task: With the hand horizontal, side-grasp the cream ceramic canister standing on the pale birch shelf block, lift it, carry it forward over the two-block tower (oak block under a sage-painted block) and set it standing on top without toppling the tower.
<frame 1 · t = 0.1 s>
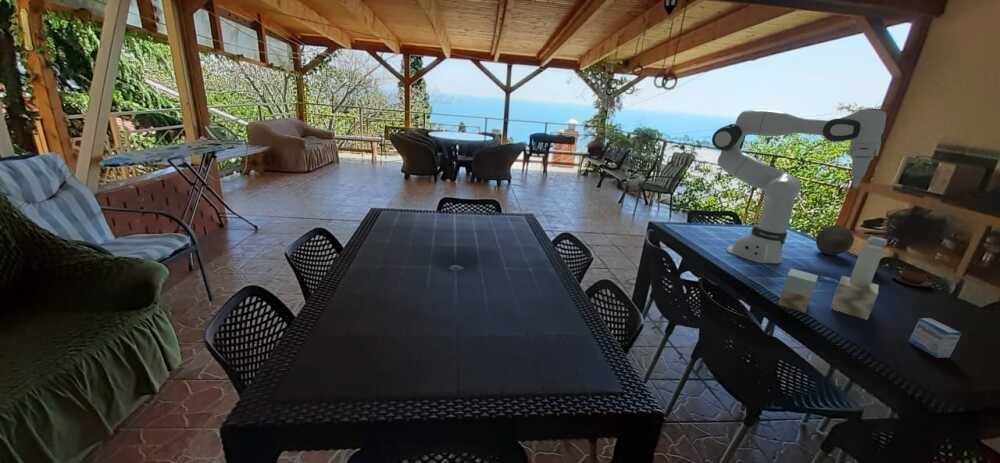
hand: (856, 185, 156), 39 cm above the table, tool pointing down, fingers open, 8 cm apart
beer can: (866, 269, 176), on the table
tower block lower: (793, 305, 140), on the table, touching tower block upper
shelf block: (849, 309, 139), on the table
cup and saucer: (909, 283, 164), on the table
canister: (859, 284, 135), point 10 cm above the table, touching shelf block
cantaloupe: (829, 255, 192), on the table
tower block upper: (797, 290, 138), point 6 cm above the table, touching tower block lower
medicine box: (927, 350, 117), on the table
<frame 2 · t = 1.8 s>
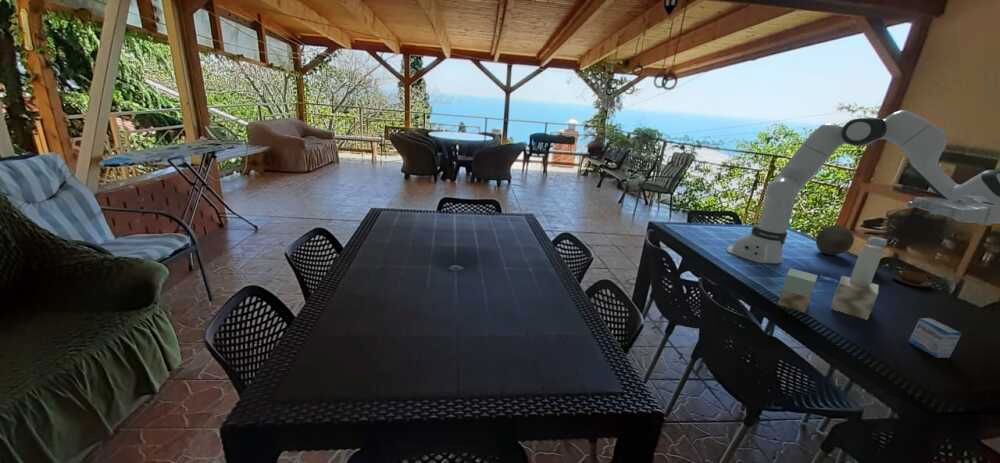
hand: (919, 207, 131), 37 cm above the table, tool horizontal, fingers open, 8 cm apart
nothing on the table moved.
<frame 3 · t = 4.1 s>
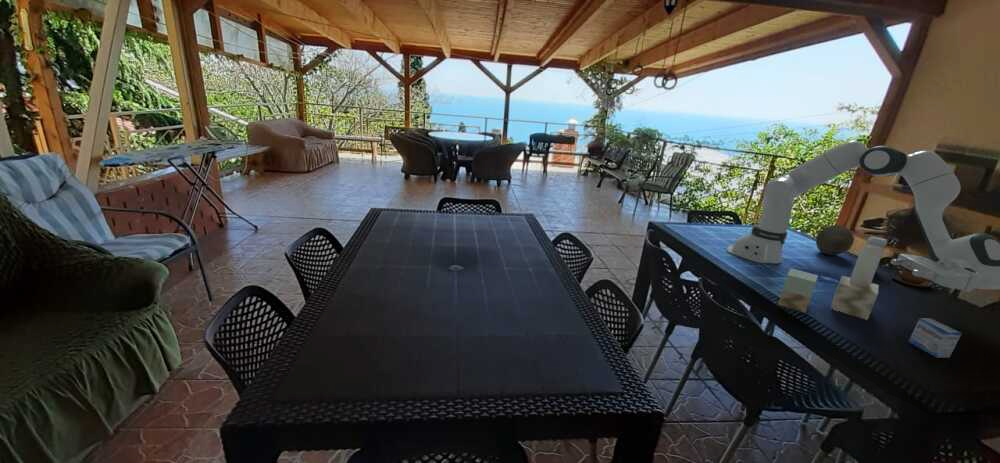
hand: (902, 267, 131), 18 cm above the table, tool horizontal, fingers open, 8 cm apart
nothing on the table moved.
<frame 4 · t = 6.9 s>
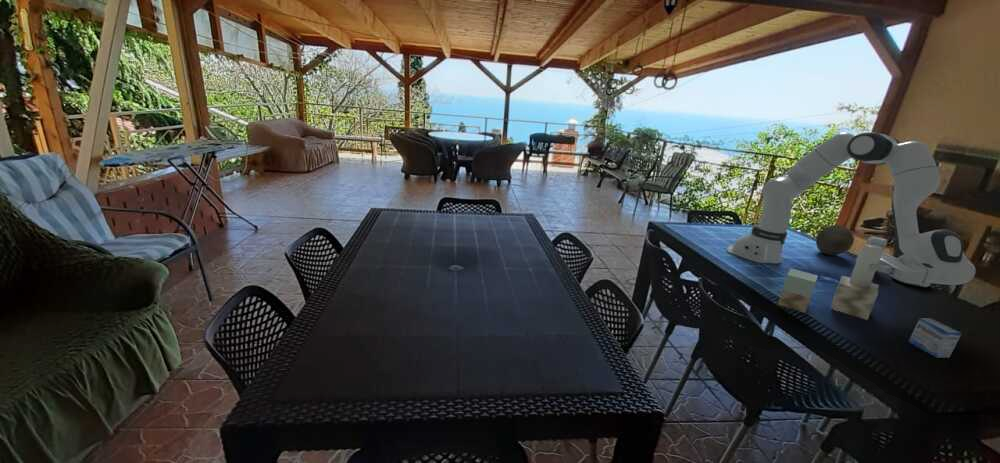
hand: (864, 262, 133), 18 cm above the table, tool horizontal, fingers closed on canister, 5 cm apart
canister: (859, 284, 135), point 10 cm above the table, touching gripper, shelf block
everything else where it was.
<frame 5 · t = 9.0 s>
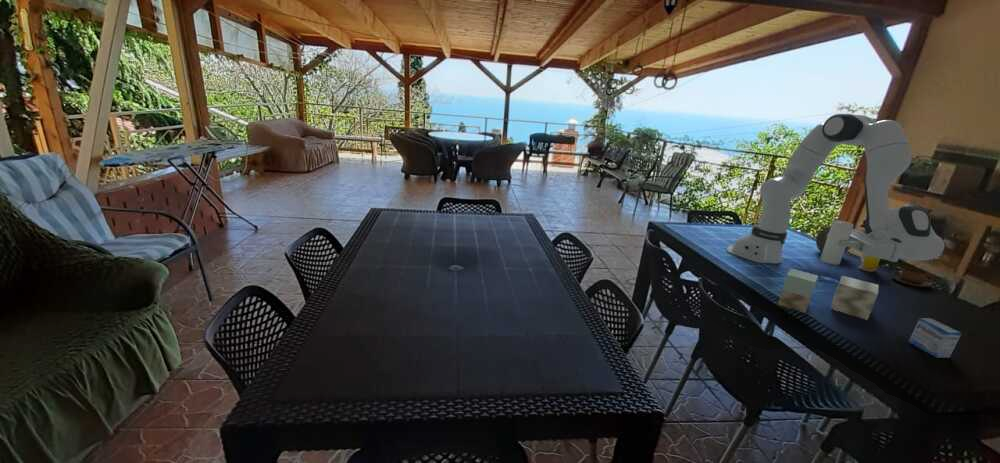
hand: (834, 239, 131), 26 cm above the table, tool horizontal, fingers closed on canister, 5 cm apart
canister: (829, 261, 134), point 18 cm above the table, touching gripper
everything else where it was.
when the fingers open (21 cm above the table, at t = 11.3 s): canister stays where it is, resting on tower block upper.
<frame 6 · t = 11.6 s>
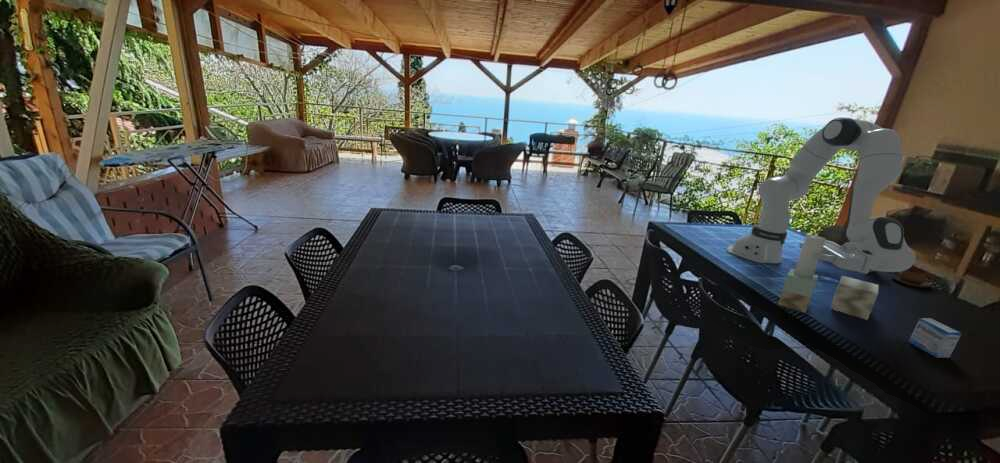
hand: (808, 250, 133), 21 cm above the table, tool horizontal, fingers open, 8 cm apart
canister: (803, 274, 136), point 12 cm above the table, touching tower block upper
tower block upper: (798, 290, 138), point 6 cm above the table, touching canister, tower block lower
everything else where it was.
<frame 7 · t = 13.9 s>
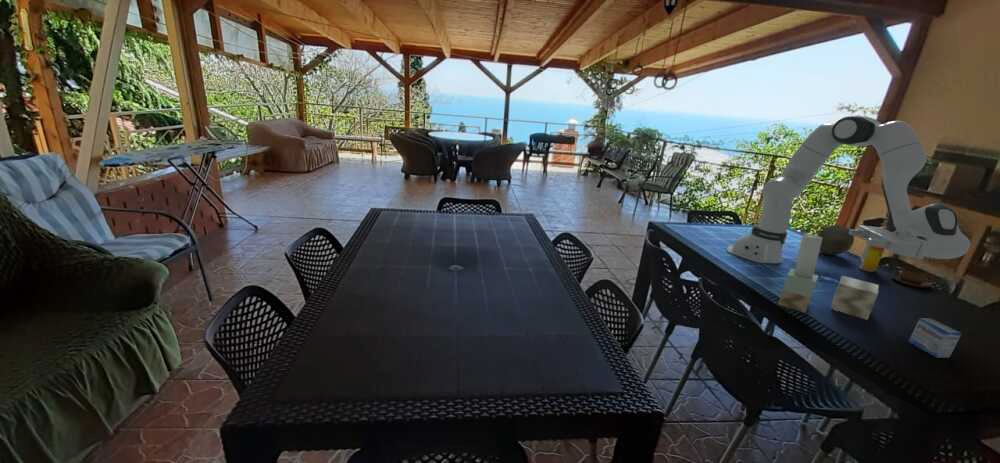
hand: (859, 236, 133), 26 cm above the table, tool horizontal, fingers open, 8 cm apart
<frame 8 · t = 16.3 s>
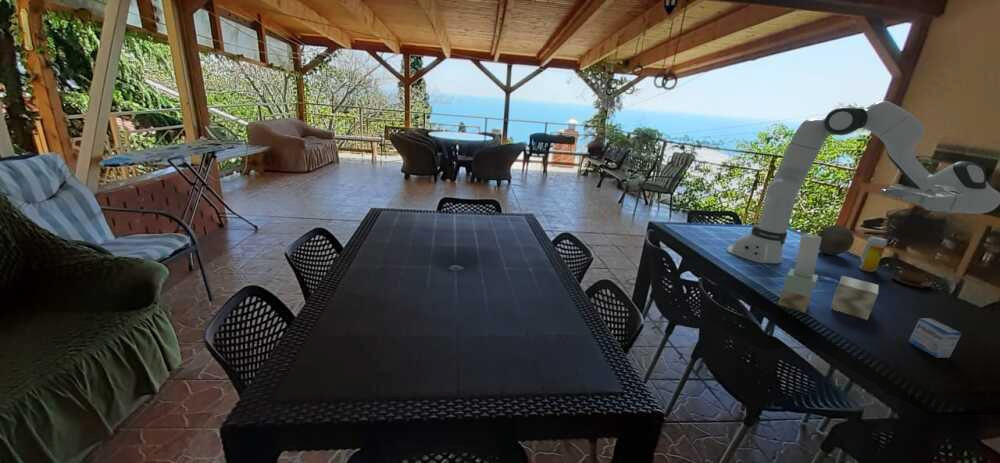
hand: (891, 194, 136), 40 cm above the table, tool horizontal, fingers open, 8 cm apart
nothing on the table moved.
at the end: canister 0.3 cm off-centre on the tower block upper, point 6.2 cm above the tower block upper's base; canister tilted 5°; tower block upper tilted 0° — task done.
